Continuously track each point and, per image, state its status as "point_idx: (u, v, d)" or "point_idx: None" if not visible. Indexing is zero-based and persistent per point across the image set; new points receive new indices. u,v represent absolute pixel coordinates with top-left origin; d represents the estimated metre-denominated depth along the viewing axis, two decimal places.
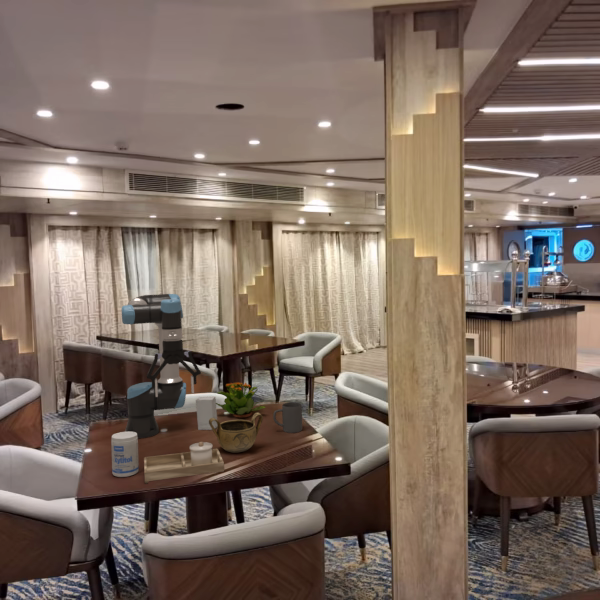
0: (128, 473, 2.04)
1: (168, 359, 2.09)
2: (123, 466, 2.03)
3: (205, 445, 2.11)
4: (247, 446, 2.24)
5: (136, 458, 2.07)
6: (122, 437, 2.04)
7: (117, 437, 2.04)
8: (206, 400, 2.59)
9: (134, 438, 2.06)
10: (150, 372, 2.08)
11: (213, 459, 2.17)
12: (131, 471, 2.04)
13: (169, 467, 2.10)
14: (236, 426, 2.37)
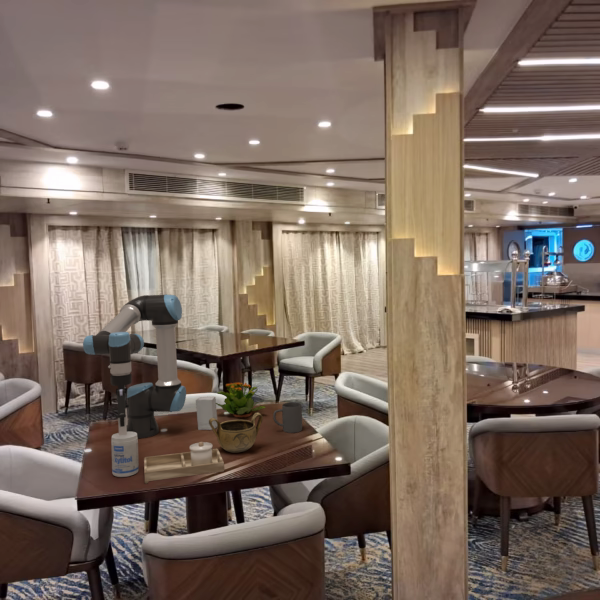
0: (128, 473, 2.04)
1: None
2: (123, 466, 2.03)
3: (205, 445, 2.11)
4: (247, 446, 2.24)
5: (136, 458, 2.07)
6: (122, 437, 2.04)
7: (117, 437, 2.04)
8: (206, 400, 2.59)
9: (134, 438, 2.06)
10: None
11: (213, 459, 2.17)
12: (131, 471, 2.04)
13: (169, 467, 2.10)
14: (236, 426, 2.37)
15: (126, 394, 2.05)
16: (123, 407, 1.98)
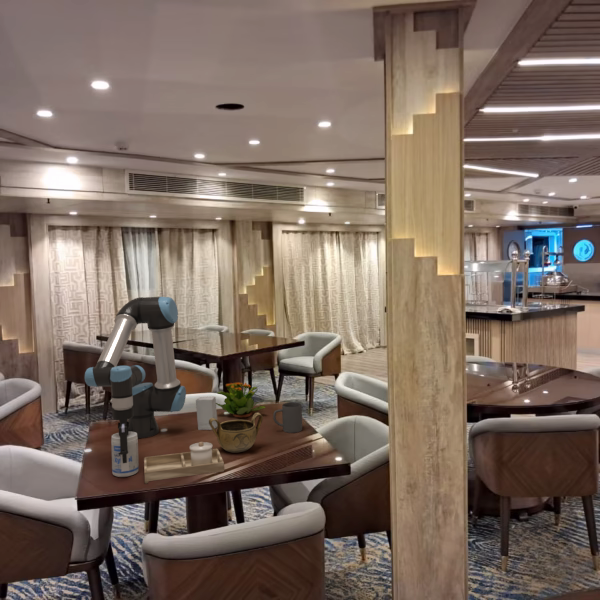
0: (128, 473, 2.04)
1: None
2: None
3: (205, 445, 2.11)
4: (247, 446, 2.24)
5: (136, 458, 2.07)
6: None
7: (117, 437, 2.04)
8: (206, 400, 2.59)
9: (134, 438, 2.05)
10: None
11: (213, 459, 2.17)
12: (131, 471, 2.04)
13: (169, 467, 2.10)
14: (236, 426, 2.37)
15: (128, 428, 2.06)
16: (125, 444, 2.00)
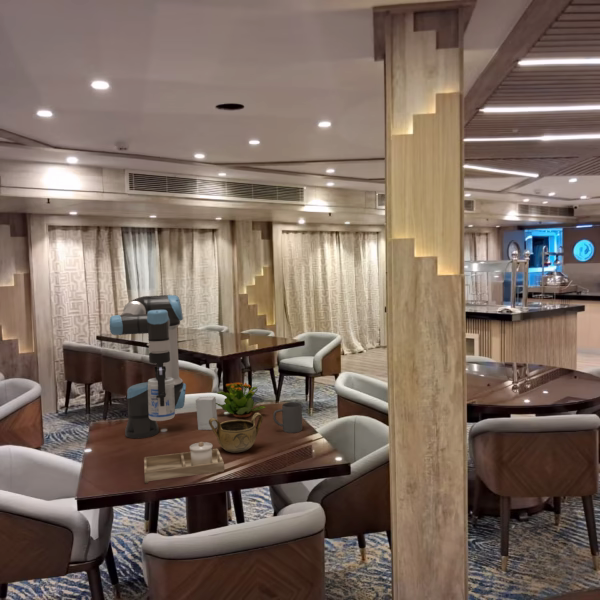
0: (165, 417, 2.02)
1: None
2: None
3: (205, 445, 2.11)
4: (247, 446, 2.24)
5: (173, 402, 2.04)
6: None
7: (154, 381, 2.02)
8: (206, 400, 2.59)
9: (171, 382, 2.03)
10: None
11: (213, 459, 2.17)
12: (168, 415, 2.02)
13: (169, 467, 2.10)
14: (236, 426, 2.37)
15: (165, 372, 2.04)
16: (163, 387, 1.98)
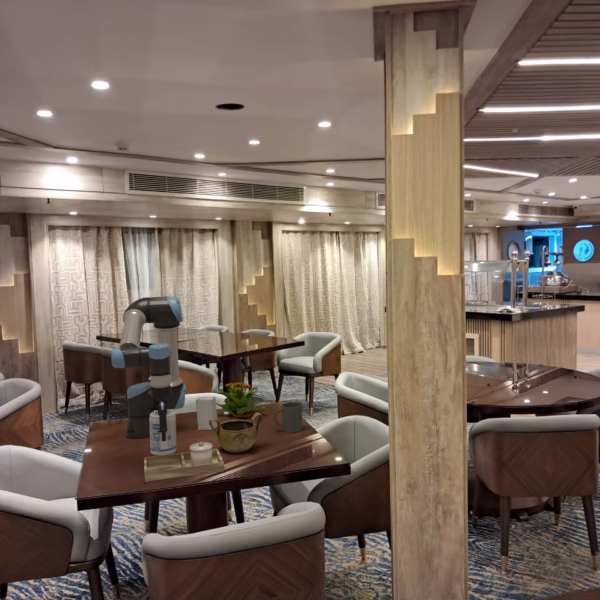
0: (166, 452, 2.02)
1: None
2: None
3: (205, 445, 2.11)
4: (247, 446, 2.24)
5: (174, 436, 2.05)
6: None
7: (155, 415, 2.03)
8: (206, 400, 2.59)
9: (172, 416, 2.04)
10: None
11: (213, 459, 2.17)
12: (170, 449, 2.03)
13: (169, 467, 2.10)
14: (236, 426, 2.37)
15: (166, 406, 2.04)
16: (165, 422, 1.99)
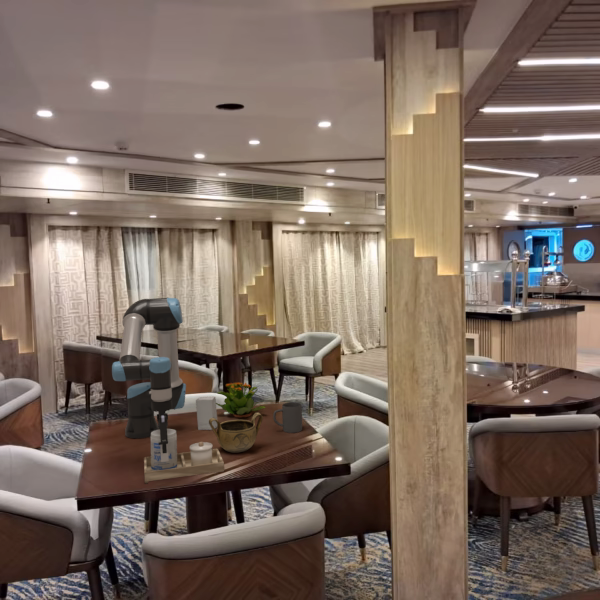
0: None
1: None
2: (162, 463, 2.02)
3: (205, 445, 2.11)
4: (247, 446, 2.24)
5: (175, 455, 2.06)
6: None
7: (157, 434, 2.03)
8: (206, 400, 2.59)
9: (173, 435, 2.05)
10: None
11: (213, 459, 2.17)
12: (171, 468, 2.04)
13: None
14: (236, 426, 2.37)
15: (167, 420, 2.04)
16: (165, 434, 1.98)
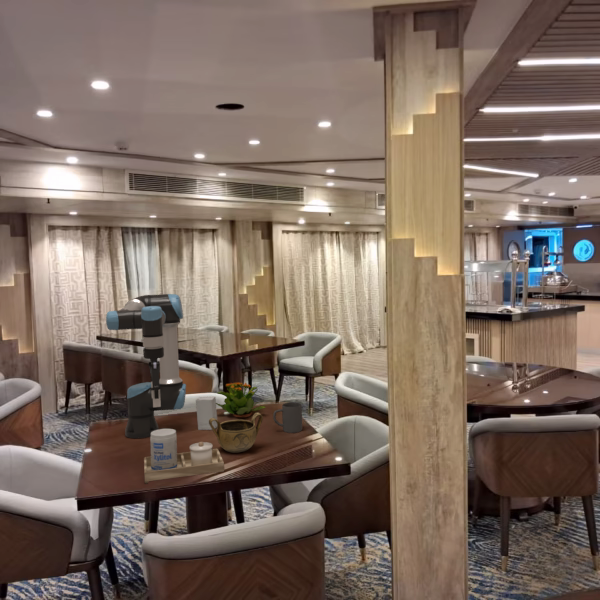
0: None
1: None
2: (162, 463, 2.02)
3: (205, 445, 2.11)
4: (247, 446, 2.24)
5: (175, 455, 2.06)
6: (161, 434, 2.03)
7: (156, 434, 2.03)
8: (206, 400, 2.59)
9: (173, 435, 2.05)
10: None
11: (213, 459, 2.17)
12: (170, 468, 2.04)
13: None
14: (236, 426, 2.37)
15: None
16: (157, 380, 2.01)
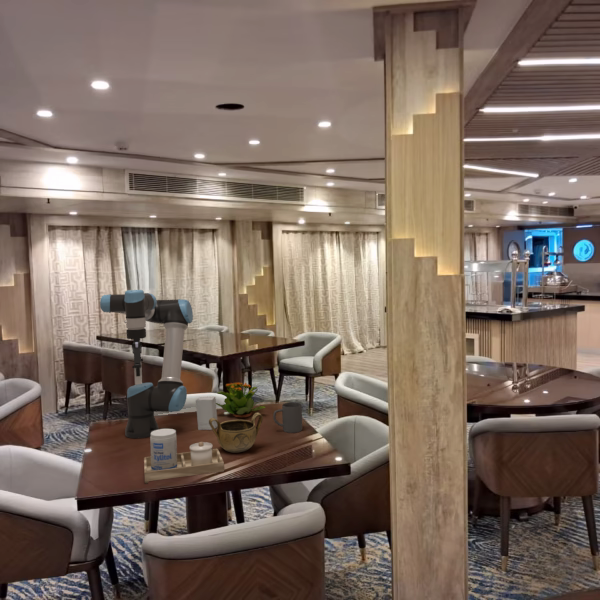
0: None
1: None
2: (162, 463, 2.02)
3: (205, 445, 2.11)
4: (247, 446, 2.24)
5: (175, 455, 2.06)
6: (161, 434, 2.03)
7: (156, 434, 2.03)
8: (206, 400, 2.59)
9: (173, 435, 2.05)
10: None
11: (213, 459, 2.17)
12: (170, 468, 2.04)
13: None
14: (236, 426, 2.37)
15: (141, 347, 2.20)
16: (139, 358, 2.13)
